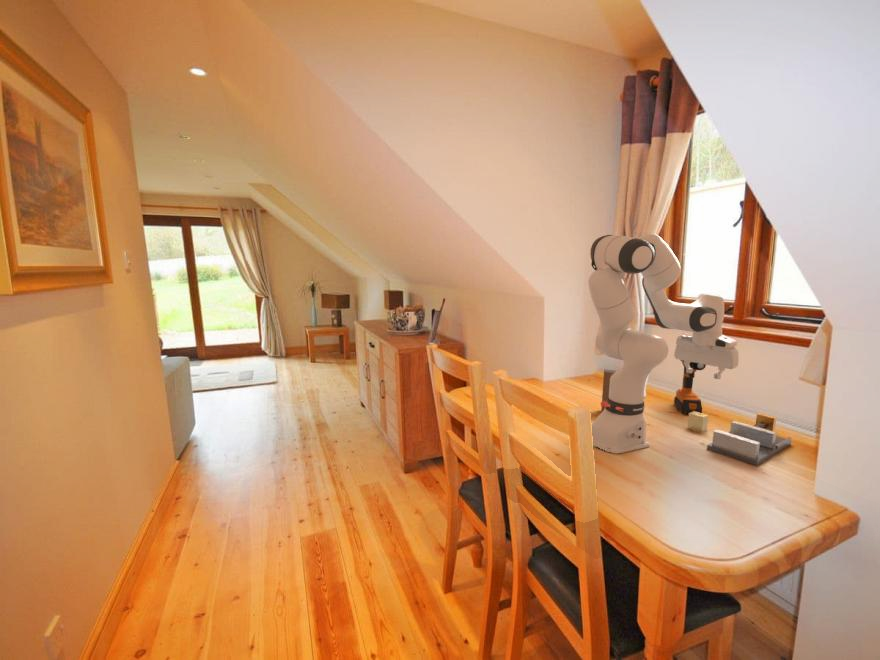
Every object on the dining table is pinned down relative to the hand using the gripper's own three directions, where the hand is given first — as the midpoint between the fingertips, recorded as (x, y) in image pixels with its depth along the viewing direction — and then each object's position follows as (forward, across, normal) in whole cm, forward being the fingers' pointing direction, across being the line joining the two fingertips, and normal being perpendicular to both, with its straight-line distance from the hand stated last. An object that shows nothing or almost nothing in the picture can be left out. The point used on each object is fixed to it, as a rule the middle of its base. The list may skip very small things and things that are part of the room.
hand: (702, 375), depth 149 cm
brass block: (+21, 0, 0) cm, 21 cm away
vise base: (+21, +17, -1) cm, 27 cm away
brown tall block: (+21, -27, -12) cm, 36 cm away
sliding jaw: (+19, +17, +5) cm, 26 cm away
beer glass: (+21, -35, +20) cm, 45 cm away
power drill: (+21, -11, +17) cm, 29 cm away
